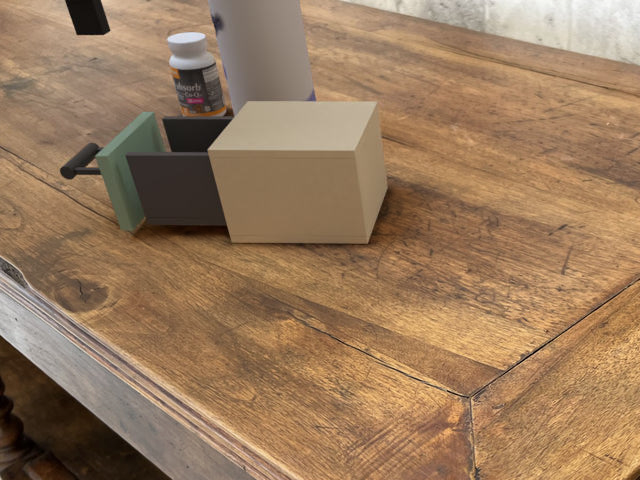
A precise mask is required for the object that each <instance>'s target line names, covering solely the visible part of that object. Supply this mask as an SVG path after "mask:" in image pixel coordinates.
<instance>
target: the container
mask: <svg viewBox="0 0 640 480" xmlns="http://www.w3.org/2000/svg"><path fill="white" fill-rule="evenodd" d="M207 4H208V10H209V14H210V17H211V18H210V19H211V22H212V23H213V28H214V31H215V38H216V43H217V47H218V52H219V57H220V60H221V65H222V69H223V74H224V78H225V82H226V87H227V90H228V94H229V98H230V103H231V108H232V112H233V115H234V116H236V115H237V114H238V112H239V111H240V110H241V109H242V108H243V106H244V105H245V104H246V103H247V101H317V97H316V92H315V91H316V90H315V83H314V78H313V72H312V66H311V61H310V55H309V49H308V43H307V42H308V41H307V36H306V31H305V24H304V19H303V12H302V6H301V1H300V0H207Z"/></svg>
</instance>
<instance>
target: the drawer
mask: <svg viewBox="0 0 640 480" xmlns="http://www.w3.org/2000/svg"><path fill="white" fill-rule="evenodd" d="M234 117H235V116H231V115H223V116H183V115H164V116H163V117H162V118H161V121H162V125H163V127H164V131H165V134H166V138H167V142H168V145H169V148H170V151H166V148H165V144H164V140H163V138H162V134H161V131H160V128H159V127H160V126H159V123H158V119H157V117H156V114H155V111H142V112H140V114H139V115H137V117H136V118H134V119H133V121H131V122H130V123H129V124H128V125H127V126H126V127H125V128H123V130H121V131H120V132H119V133H118V134H117V135H115V137H113V139H112V140H111V141H110V142H108V143H107V144H106V145H105V146H99V145H98V144H97V143H96V142H89V143H87V144H85V146H84V147H83V148H82V149H80V150H79V151H78V152H77V153H76V154H75V155H73V156H72V157H71V158H70V159H69V160H68V161H67V162H65V163H64V164H63V165H62V166H61V167H60V168H59V174H60V175H61V177H62V178H64V179H65V180H67V181H68V180H70V181H72V180H73V179H75V178H76V177H77V176H101V177H102V180H103V183H104V186H105V190H106V192H107V194H108V197H109V200H110V203H111V205H112V209H113V211H114V214H115V217H116V219H117V223H118V226H119V228H120V231H121V232H133V231H134V230H136V228H137V226H139V225H140V223H141V222H143V220H144V219H145V220H146V223H147V225H148V226H227V223H226V219H225V215H224V211H223V208H222V204H221V200H220V196H219V192H218V188H217V185H216V181H215V177H214V173H213V169H212V166H211V162H210V158H209V154H208V148H209V147H210V146H211V145H212V144H213V142H214V141H215V140H216V139H217V138H218V136H219V135H220V134H221V133H222V132H223V130H224V129H225V128H226V127H227V126H228V124H229V123H230V122H231V121H232V120H233V118H234ZM94 160H95V161H96V164H97V167H96V166H93V167H91V166H89V165H90V164H91V163H92V162H93V161H94Z"/></svg>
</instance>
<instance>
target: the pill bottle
mask: <svg viewBox="0 0 640 480" xmlns="http://www.w3.org/2000/svg"><path fill="white" fill-rule="evenodd" d="M166 41H167V46H168V49H169V51H170V52H171V53H172V55H171V56H170V58H169V60H168V61H169V62H168V64H169V69H170V72H171V76H172V81H173V84H174V88H175V92H176V96H177V100H178V104H179V108H180V111H181V114H182V115H181V116H226V115H225V114H226V113H227V105H226V100H225V96H224V92H223V88H222V83H221V77H220V74H219V70H218V66H217V65H218V64H217V62H216V58H215V56H214V55H213V54H212V53H211V52H209V51H208V46H209V43H208V38H207V35H206V33H205V34H204V33H203V32H199V31H198V32H195V31H188V32H187V31H185V32H178V33H176V34H172V35H170V36H168V37H167V39H166Z"/></svg>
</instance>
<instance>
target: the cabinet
mask: <svg viewBox="0 0 640 480" xmlns="http://www.w3.org/2000/svg"><path fill="white" fill-rule="evenodd" d="M379 111H380V110H379V102H378V101H376V100H375V101H374V100H373V101H372V100H371V101H364V100H363V101H360V100H359V101H357V100H356V101H354V100H353V101H351V100H349V101H345V100H343V101H340V100H338V101H333V100H332V101H331V100H328V101H327V100H326V101H323V100H322V101H320V100H319V101H318V100H316V101H247V103H246V104H245V105H244V106H243V108H242V109H241V110H240V111H239V112H238V114H237V115H236V116H235V117H234V118H233V120H232V121H231V122H230V123H229V124H228V126H227V127H226V128H225V129H224V130H223V132H222V133H221V134H220V135H219V136H218V138H217V139H216V140H215V141H214V142H213V144H212V145H211V146H210V147H209V148H208V154H209V158H210V162H211V166H212V169H213V173H214V177H215V181H216V185H217V188H218V192H219V196H220V200H221V204H222V208H223V211H224V215H225V219H226V223H227V225H226V226H227V230H228V234H229V237H230V238H229V239H230V241H231V243H232V244H234V243H235V244H238V243H239V244H245V243H246V244H343V245H344V244H345V245H346V244H348V245H349V244H350V245H351V244H353V245H355V244H358V245H362V244H363V245H364V244H365V245H366V244H367V245H368V244H369V241H370V238H371V236H372V233H373V230H374V228H375V224H376V222H377V218H378V215H379V213H380V210H381V207H382V204H383V202H384V199H385V196H386V194H387V191H388V178H387V170H386V161H385V153H384V144H383V137H382V128H381V118H380V112H379Z"/></svg>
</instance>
